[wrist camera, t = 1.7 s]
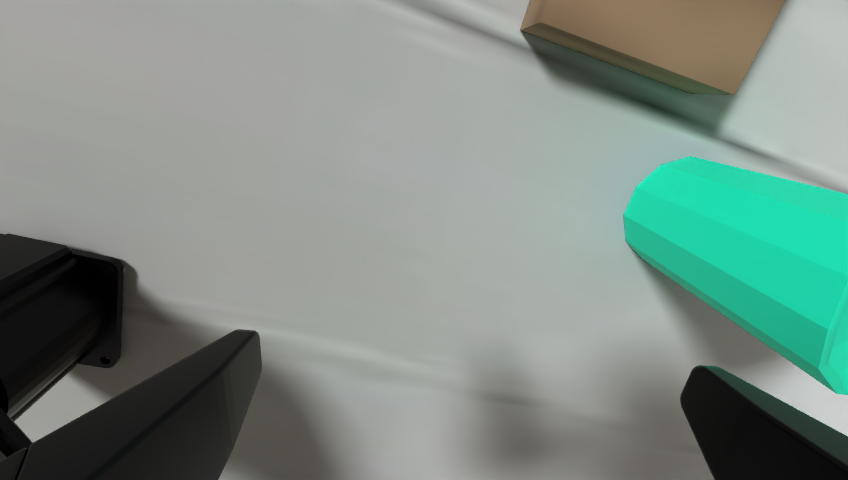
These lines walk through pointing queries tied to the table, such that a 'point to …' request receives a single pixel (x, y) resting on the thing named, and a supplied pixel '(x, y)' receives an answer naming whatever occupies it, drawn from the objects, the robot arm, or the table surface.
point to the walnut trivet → (662, 36)
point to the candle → (753, 255)
